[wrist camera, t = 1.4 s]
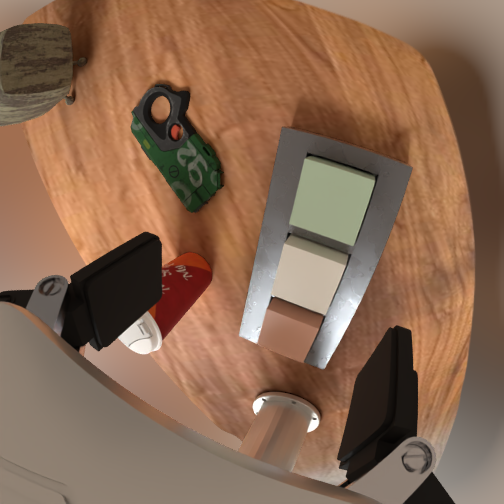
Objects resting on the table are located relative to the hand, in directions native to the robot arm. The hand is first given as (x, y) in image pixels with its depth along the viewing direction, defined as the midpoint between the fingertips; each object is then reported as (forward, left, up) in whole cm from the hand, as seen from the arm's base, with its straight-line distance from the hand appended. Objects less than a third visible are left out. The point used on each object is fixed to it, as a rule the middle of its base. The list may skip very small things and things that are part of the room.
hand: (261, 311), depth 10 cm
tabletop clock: (+12, +43, -21) cm, 49 cm away
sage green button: (0, 0, -18) cm, 18 cm away
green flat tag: (+1, +19, -21) cm, 28 cm away
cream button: (-8, 0, -18) cm, 20 cm away
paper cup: (-16, +15, -21) cm, 30 cm away
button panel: (-8, 0, -20) cm, 22 cm away
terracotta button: (-16, 0, -18) cm, 24 cm away
